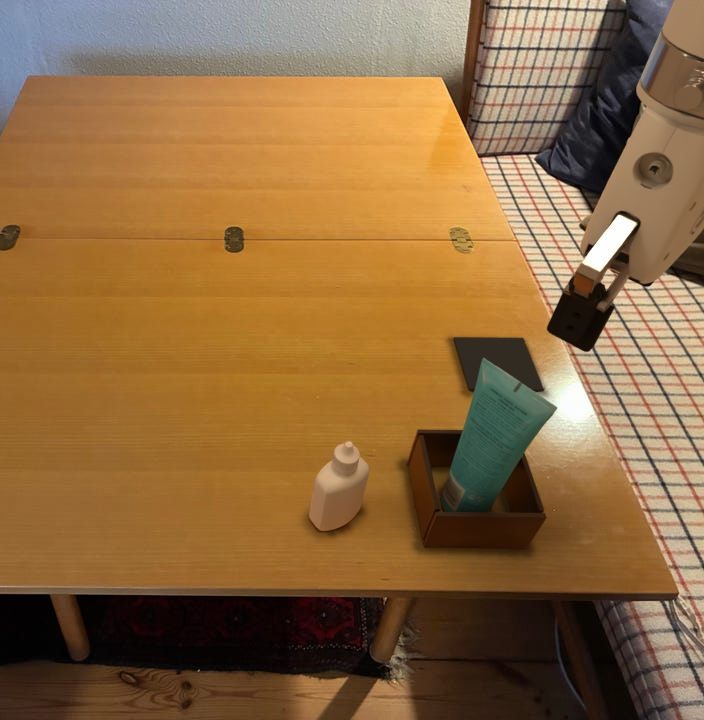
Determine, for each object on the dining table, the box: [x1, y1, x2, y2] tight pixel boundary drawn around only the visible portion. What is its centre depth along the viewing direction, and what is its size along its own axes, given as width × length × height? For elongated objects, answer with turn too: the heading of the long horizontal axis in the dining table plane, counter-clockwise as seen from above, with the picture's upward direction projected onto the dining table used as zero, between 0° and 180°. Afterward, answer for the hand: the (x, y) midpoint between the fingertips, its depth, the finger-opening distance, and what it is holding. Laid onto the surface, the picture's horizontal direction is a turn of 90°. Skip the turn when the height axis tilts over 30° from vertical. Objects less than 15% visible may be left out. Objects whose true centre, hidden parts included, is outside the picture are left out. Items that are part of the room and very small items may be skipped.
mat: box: [453, 336, 545, 392], centre depth 87 cm, size 9×9×1 cm
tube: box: [440, 358, 558, 512], centre depth 66 cm, size 7×5×19 cm, turn 44°
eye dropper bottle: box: [308, 440, 371, 532], centre depth 68 cm, size 4×6×12 cm
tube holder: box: [406, 428, 548, 550], centre depth 71 cm, size 10×10×6 cm
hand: (600, 307), depth 51 cm, fingers open, 9 cm apart
